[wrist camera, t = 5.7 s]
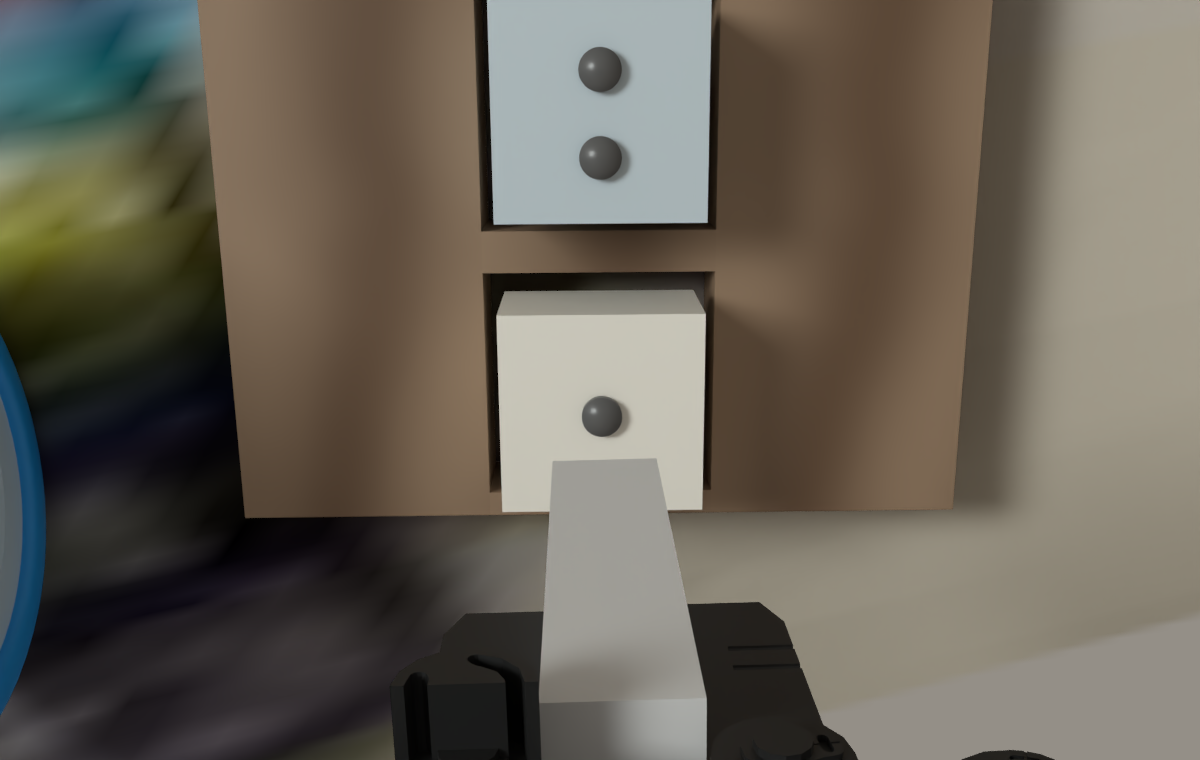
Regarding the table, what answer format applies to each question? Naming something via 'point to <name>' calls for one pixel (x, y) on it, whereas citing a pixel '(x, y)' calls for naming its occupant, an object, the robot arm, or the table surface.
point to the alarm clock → (18, 526)
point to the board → (594, 252)
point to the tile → (600, 388)
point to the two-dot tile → (599, 110)
